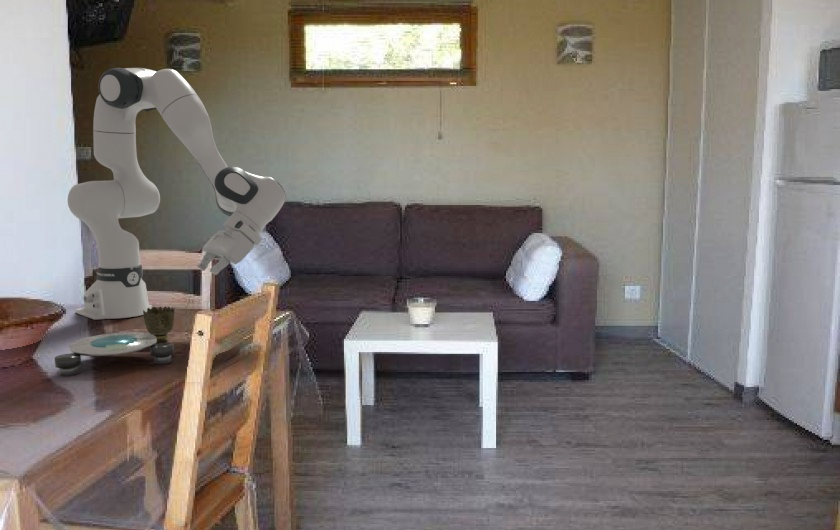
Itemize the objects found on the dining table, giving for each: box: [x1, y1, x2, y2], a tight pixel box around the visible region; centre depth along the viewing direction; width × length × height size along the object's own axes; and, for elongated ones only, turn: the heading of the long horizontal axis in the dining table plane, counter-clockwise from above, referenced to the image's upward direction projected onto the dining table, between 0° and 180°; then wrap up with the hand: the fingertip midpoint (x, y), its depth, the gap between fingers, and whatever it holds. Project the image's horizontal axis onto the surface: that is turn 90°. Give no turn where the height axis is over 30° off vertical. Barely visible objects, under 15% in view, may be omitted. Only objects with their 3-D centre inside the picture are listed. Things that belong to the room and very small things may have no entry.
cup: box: [143, 306, 176, 342], centre depth 185 cm, size 8×7×8 cm
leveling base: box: [54, 331, 175, 377], centre depth 164 cm, size 24×22×6 cm
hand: (206, 271), depth 190 cm, fingers open, 8 cm apart
